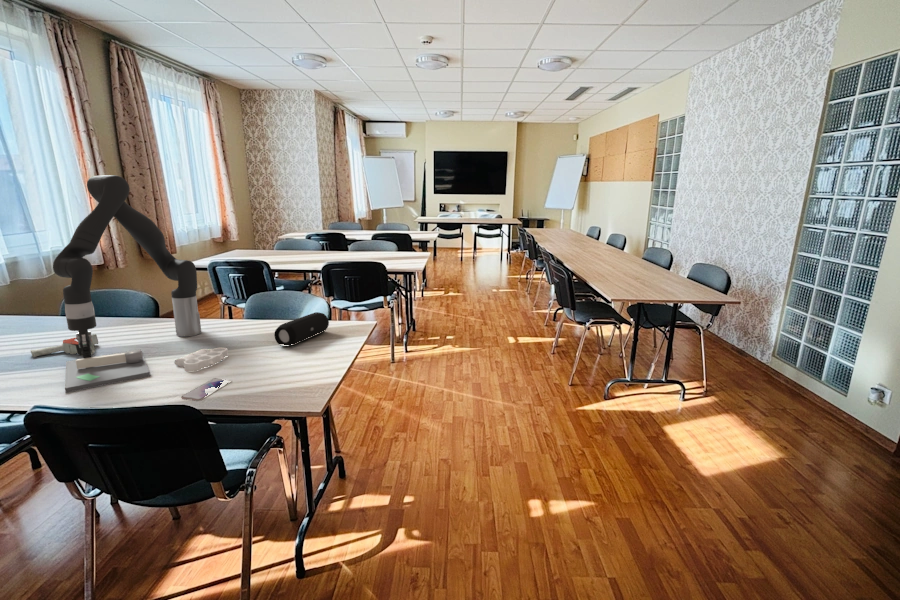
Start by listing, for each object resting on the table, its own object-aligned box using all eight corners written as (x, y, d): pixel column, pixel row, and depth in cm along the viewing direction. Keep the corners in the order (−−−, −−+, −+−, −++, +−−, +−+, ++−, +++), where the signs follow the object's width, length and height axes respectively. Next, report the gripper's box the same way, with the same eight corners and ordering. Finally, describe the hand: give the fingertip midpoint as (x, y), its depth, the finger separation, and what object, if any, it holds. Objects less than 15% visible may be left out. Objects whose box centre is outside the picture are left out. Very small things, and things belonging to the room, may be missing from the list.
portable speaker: (292, 350, 178) (290, 327, 176) (273, 346, 182) (271, 323, 179) (330, 333, 201) (330, 312, 199) (313, 330, 205) (312, 309, 202)
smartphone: (232, 380, 147) (199, 399, 133) (232, 382, 147) (200, 402, 133) (214, 377, 148) (179, 396, 134) (214, 380, 149) (179, 399, 134)
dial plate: (141, 352, 170) (140, 348, 170) (150, 375, 150) (149, 371, 149) (66, 365, 157) (66, 361, 156) (65, 392, 136) (64, 388, 135)
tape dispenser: (27, 361, 164) (73, 362, 160) (23, 348, 162) (69, 349, 159) (73, 344, 180) (115, 345, 177) (69, 332, 179) (111, 332, 176)
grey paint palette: (206, 353, 173) (237, 357, 170) (167, 369, 156) (201, 374, 153) (205, 345, 173) (236, 349, 169) (166, 360, 156) (200, 365, 152)
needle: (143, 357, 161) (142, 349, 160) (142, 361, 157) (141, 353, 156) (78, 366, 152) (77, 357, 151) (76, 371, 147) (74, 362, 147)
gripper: (95, 318, 146) (102, 366, 150) (94, 309, 156) (101, 354, 160) (65, 321, 142) (74, 370, 146) (66, 312, 152) (74, 358, 156)
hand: (88, 362), depth 153 cm, fingers closed
